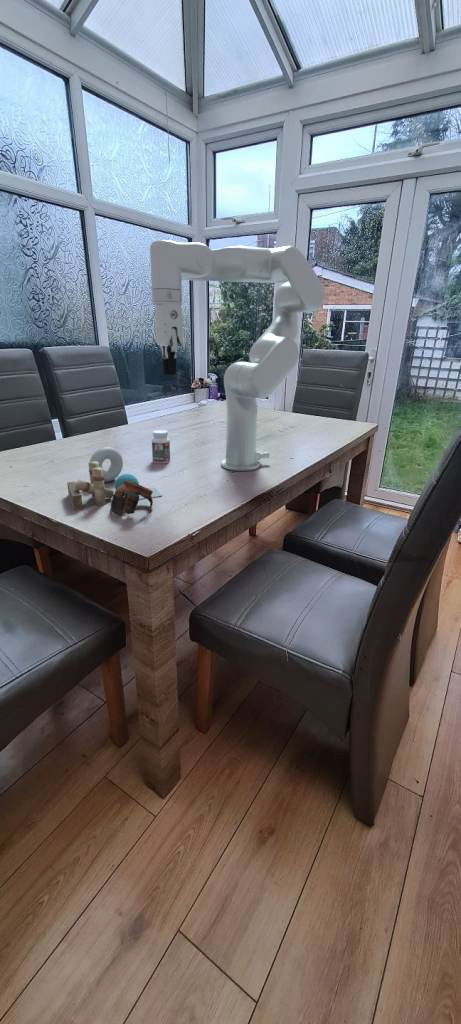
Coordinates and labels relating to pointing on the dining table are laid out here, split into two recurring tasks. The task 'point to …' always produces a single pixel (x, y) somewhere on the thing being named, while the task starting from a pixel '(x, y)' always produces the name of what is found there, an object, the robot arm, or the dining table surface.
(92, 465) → the pin
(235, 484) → the dining table surface
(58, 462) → the dining table surface
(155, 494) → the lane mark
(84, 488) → the front pin
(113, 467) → the donut
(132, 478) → the ball
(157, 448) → the pill bottle
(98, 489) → the pin
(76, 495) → the stopper strip
